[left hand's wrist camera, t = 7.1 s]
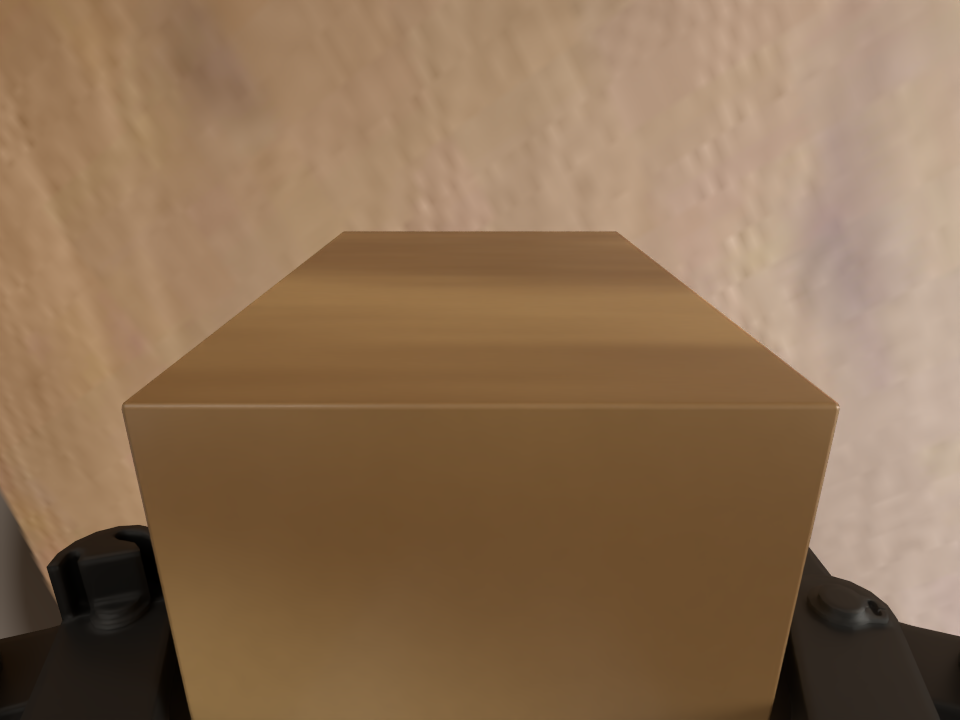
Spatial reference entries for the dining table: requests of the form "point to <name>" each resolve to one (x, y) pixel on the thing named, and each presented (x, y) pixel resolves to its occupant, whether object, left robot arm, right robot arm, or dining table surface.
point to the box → (480, 490)
